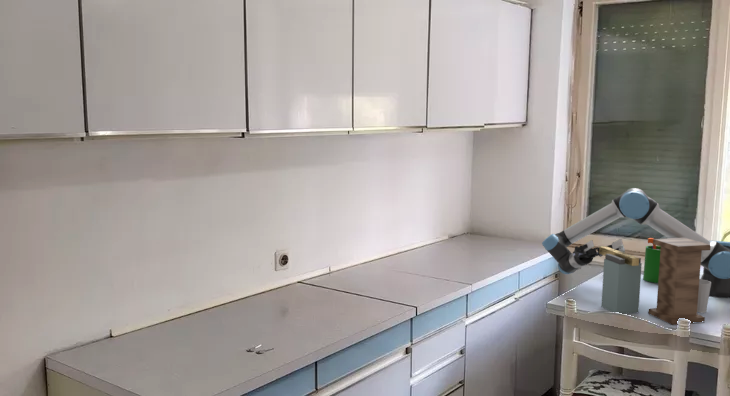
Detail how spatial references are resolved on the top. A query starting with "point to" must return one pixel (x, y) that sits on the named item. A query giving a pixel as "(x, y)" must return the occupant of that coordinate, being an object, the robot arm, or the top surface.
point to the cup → (703, 295)
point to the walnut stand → (678, 279)
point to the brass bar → (620, 255)
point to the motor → (652, 262)
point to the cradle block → (620, 285)
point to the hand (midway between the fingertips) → (607, 242)
